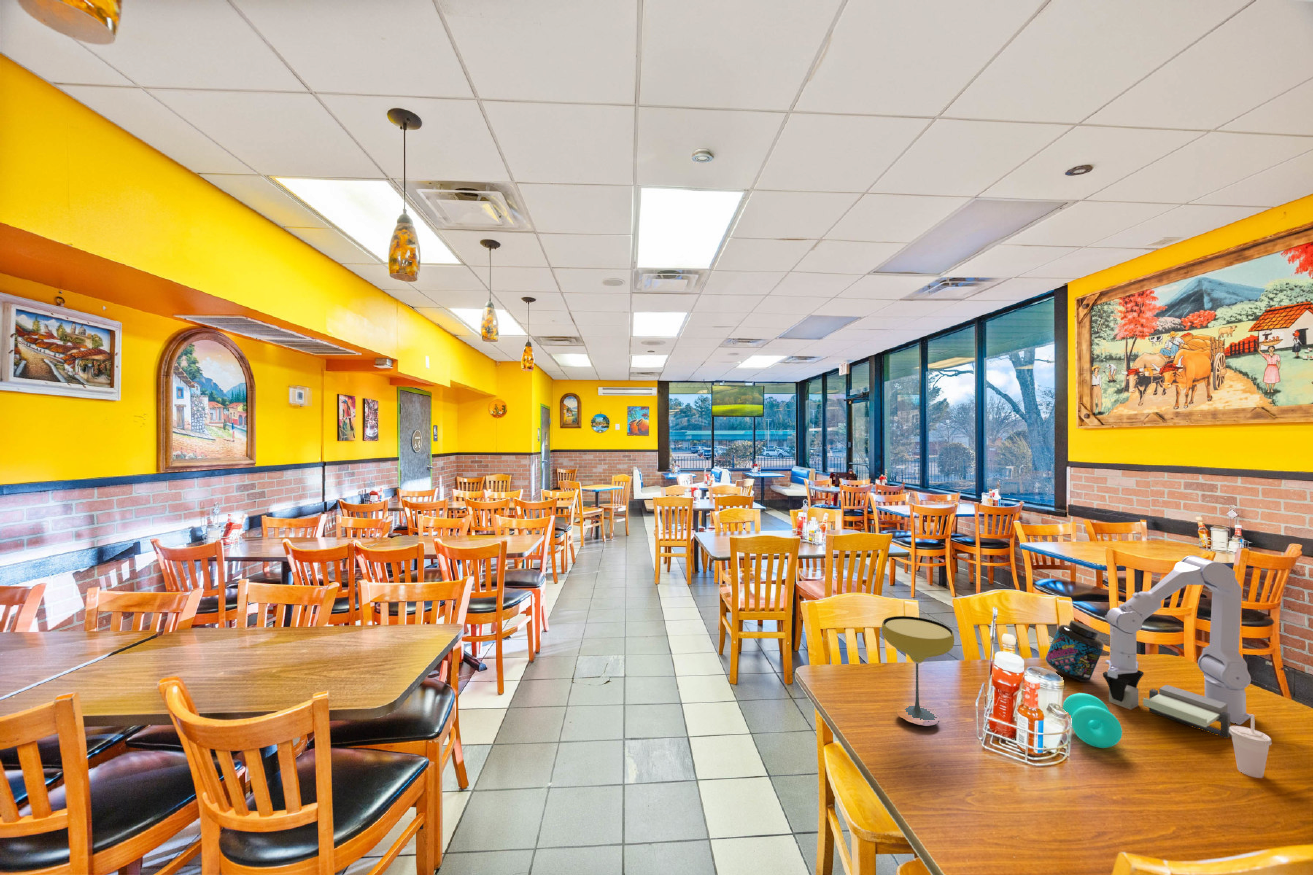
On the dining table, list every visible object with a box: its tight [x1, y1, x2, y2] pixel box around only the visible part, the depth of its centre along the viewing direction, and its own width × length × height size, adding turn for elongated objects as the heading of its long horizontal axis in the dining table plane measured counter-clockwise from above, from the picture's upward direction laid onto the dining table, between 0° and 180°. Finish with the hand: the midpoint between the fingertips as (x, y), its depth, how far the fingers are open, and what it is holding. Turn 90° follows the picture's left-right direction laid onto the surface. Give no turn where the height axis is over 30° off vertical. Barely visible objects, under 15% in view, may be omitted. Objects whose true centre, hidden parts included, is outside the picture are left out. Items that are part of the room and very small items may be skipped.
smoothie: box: [1229, 713, 1273, 779], centre depth 116 cm, size 6×6×14 cm
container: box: [1045, 620, 1104, 682], centre depth 164 cm, size 12×12×17 cm
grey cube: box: [1108, 685, 1139, 710], centre depth 148 cm, size 5×5×5 cm
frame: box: [1148, 688, 1232, 739], centre depth 137 cm, size 2×15×6 cm, turn 28°
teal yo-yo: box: [1062, 692, 1123, 749], centre depth 130 cm, size 10×10×10 cm
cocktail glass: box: [881, 615, 955, 722], centre depth 141 cm, size 18×18×25 cm
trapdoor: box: [1142, 684, 1228, 727], centre depth 136 cm, size 16×12×4 cm
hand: (1123, 696), depth 148 cm, fingers open, 7 cm apart
